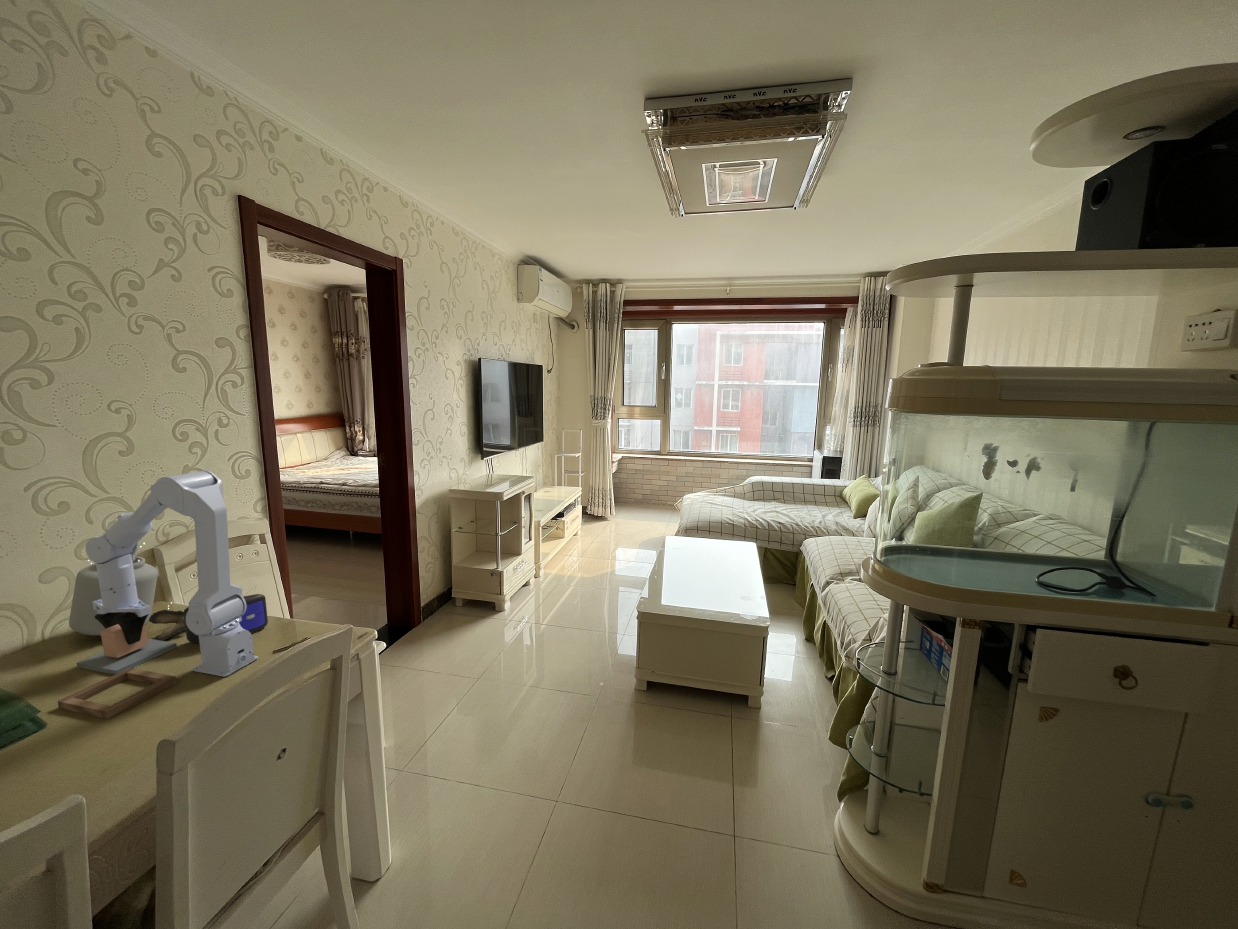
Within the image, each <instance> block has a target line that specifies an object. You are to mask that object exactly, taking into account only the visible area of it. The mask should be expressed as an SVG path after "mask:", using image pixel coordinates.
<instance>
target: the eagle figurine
mask: <svg viewBox="0 0 1238 929" xmlns="http://www.w3.org/2000/svg"><path fill="white" fill-rule="evenodd" d="M149 618H150V619H149V620H148V622H149V623H151V624H152V625H153V624H155V625H156V624H157V625H158V624H162V625H167V624H173V625H172V626H170V627H168V628H166V629H165V630H163V632H161V633H160V634H158V635H156V636H154V638H153V639H154V640H160V641H165V640H168V639H169V638H171V637H172V636H174V635H175V634H177V633H181V632H182V631H183V632H184V630H186V628H185V621H184V610H170V609H168V610H167V609H163V610H158V611H156V612H152V614H151V616H150V617H149Z"/></svg>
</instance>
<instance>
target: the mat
mask: <svg viewBox="0 0 1238 929" xmlns="http://www.w3.org/2000/svg"><path fill="white" fill-rule="evenodd" d="M147 640H148V645H146V646H144V647H142V648H139V649H137V650H135V651H132V652H130V653H128V654H126V655H123V656H121V657H119V658H116V657H109V656H104V651H101V652H99V653H97V654H95V655H91V656H89V657H87V658H85V659H82V660H79V661H77V662H76V667H77V668H79V669H84V670H85V669H86V670H91V671H95V672H101V673H106V674H111V675H115V674H117V673H120V672H122V671H124V670H126V669H128V668H135V667H137V666H139V665H142V664H144V663H146V662H148V661H150V660H152V659H154V658H157V657H159V656H161V655H163V654H166V653H167V652H170V651H172V650H174V649H176V648H178V646H177V643H175V642H171V641H165V640H163V641H160V640H154V638H149V637H147Z"/></svg>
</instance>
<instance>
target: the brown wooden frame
mask: <svg viewBox="0 0 1238 929" xmlns="http://www.w3.org/2000/svg"><path fill="white" fill-rule="evenodd" d="M127 680H131V681H136V682H137V681H138V682H142V683H147V684H151V685H149V686H147V687H145V688H143V689H140V690H139V691H137V692H135V693H133V694H130V695H129V696H127V697H125V698H123V699H121V700H119V701H117V702H114V703H113V704H111V705H110V704H109V705H108V704H104V703H99V702H96V701H95V702H94V701H91V700H88V699H89V698H91V697H94V696H95V695H98V694H99V693H101V692H103V691H106V690H108V689H110V688H113V687H114V686H117V685H119V684H120V683H122V682H125V681H127ZM175 683H176V684H177V683H178V681H177V677H176V676H175V675H170V674H166V673H160V672H154V671H149V670H144V669H143V670H142V669H138V668H135V667H133V668H128V669H126V670H124V671H122V672H120V673H117V674H112V675H111V676H109V677H107V678H104V679H103V680H101V681H97V682H96V683H94V684H92V685H90V686H87V687H86V688H83V689H80V690H79V691H78V690H77V692H74V693H72V694H70V695H68V696H66V697H63V698H61V699H59V700H57V705H58V709H61V710H65V711H71V712H75V713H79V714H84V715H88V716H91V717H92V716H93V717H97V718H100V717H101V718H100V719H105V718H107V719H106V720H109V719H111V718H113V717H115V716H117V715H119V714H120V712H121V713H122V712H124V711H126V710H128V709H130V708H132V707H134V706H136V705H137V704H139V703H141V702H143V701H145V700H147V699H149V698H152V697H153V696H154V695H157V694H159V693H160V692H162V691H164V690H167V689H168V688H170V687H172V686H173V685H176V684H175ZM118 713H119V714H118ZM116 714H117V715H116ZM114 715H115V716H114ZM102 717H103V718H102ZM110 717H111V718H110ZM108 718H109V719H108Z"/></svg>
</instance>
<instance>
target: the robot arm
mask: <svg viewBox="0 0 1238 929" xmlns="http://www.w3.org/2000/svg"><path fill="white" fill-rule="evenodd" d="M149 488H150V493H149V494H148V495H147V497H145V499H144V500H143V501H142V502H141V504H139V505H138V507H137V508H136V509H135V511H130V512H125V513H121V514H119V515H118V516H117V517H116V519H117V520H116V521H115V522H114V523H113V524H112V525H111V526H110V527H108V528H106V529H105V532H103V534H102V535H99V536H93V537H90V538H89V539H88V541H87V542H86V543H85V546H84V547H85V553H86V555H87V558H89V560H90V561H92V563H95V562H96V567H97V573H98V580H99V586H100V592H101V598H102V599H99V600H96V601H93V602H92V603H93V609H94V610H97V613H98V614H97V615H95V619H96V620H98V621H99V622H100V623H101V624H102V625H103V626H104V628H105V629H107V628H109V627H112V626H114V625H117V624H119V625H120V627H121V629H122V631H123V633H124V636H125V640H126V642H127V644H129V645H131V644H133V643H136V642H138V641H140V639H141V634H142V629H143V625H144V622H145V620H146V618H147V616H148V615H149V614H150V613H151V611H150V605H146V604H144V603H143V602H142V601H141V600H139V599H138V596H137V589H136V582H135V575H134V569H133V561H134V560H135V556H136V552H137V551H138V548H139V547H138V546H139V542H140V541H141V540H142V539H143V538H144V537H145V536H147V534H148V533H149V532H150V531H151V530H152V529H153V527H154V526H153V525H154V523H153V521H154V520H155V519H156V518H157V517H159V516H160V515H161V514H162V513H164V511H166V509H170V510H172V511H174V512H176V513H178V514H180V515H182V516H184V517H185V516H186V517H190V519H193V521H194V533H195V534H194V535H195V551H196V567H197V568H196V569H197V583H198V589H197V591H196V592H195V593H194V594H193V596H191V599H190V600H189V601H188V607H189V610H188V612H187V614H186V624H187V627H188V628H189V629H190V630H191V631H192V632H193V633H195V635H199V643H198V644H199V651H200V656H201V663H200V664H198V665H197V666H194V667H193V668H192V669H191V671H193V672H196V673H201V674H207V675H212V676H217V677H218V676H219V677H223V678H224V677H228V676H230V675H232V674H233V673H235V672H236V671H239V670H240V669H241V668H244V667H245V666H247V665H249V664H250V663H252V662H255V661H256V660H258V659H259V656H258V655H255V649H254V648H255V647H254V640H253V635H252V633H250V632H249V631H247V630H245V629H243V628H242V627H241V626H240V624H239V622H240V621H242V618H241V616H242V615H243V614H244V613H245V611H246V608H247V605H246V601H245V599H244V597H243V596H244V595H243V588H242V587H240V586H238V585H235V584H233V583H231V571H230V570H231V569H230V567H231V566H230V551H229V549H230V548H229V529H228V528H229V527H228V511H227V507H226V506H227V505H226V503H225V501H224V492H223V491H224V489H223V488H224V487H223V480H222V479H220V478H219V477H218V475H216V474H215V473H213V472H212V471H210V470H208V469H207V470H206V469H200V470H198V471H194V472H189V473H183V474H177V475H173V476H162V477H159V478H158V479H157V480H156V481H155V482H154V483H153V484H152V485H150V486H149ZM151 614H152V613H151Z"/></svg>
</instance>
